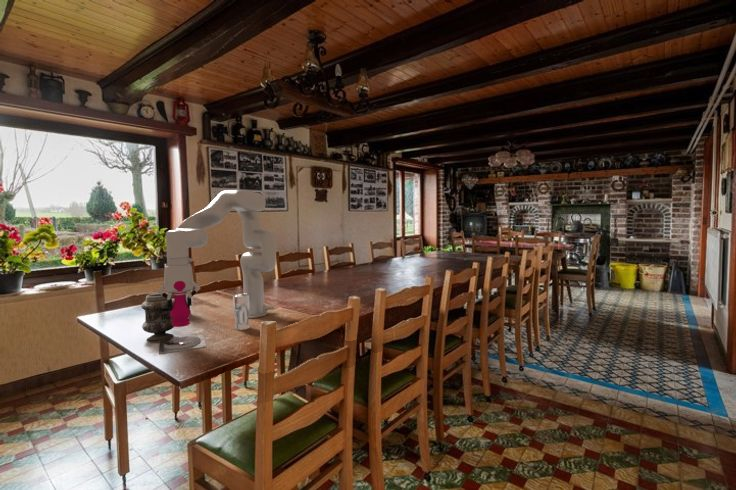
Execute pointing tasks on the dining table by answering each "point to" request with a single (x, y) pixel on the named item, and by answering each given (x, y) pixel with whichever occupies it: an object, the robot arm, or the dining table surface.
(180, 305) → the pepper mill
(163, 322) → the stone urn vase
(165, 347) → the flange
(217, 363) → the dining table surface
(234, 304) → the white drink can
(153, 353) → the dining table surface
